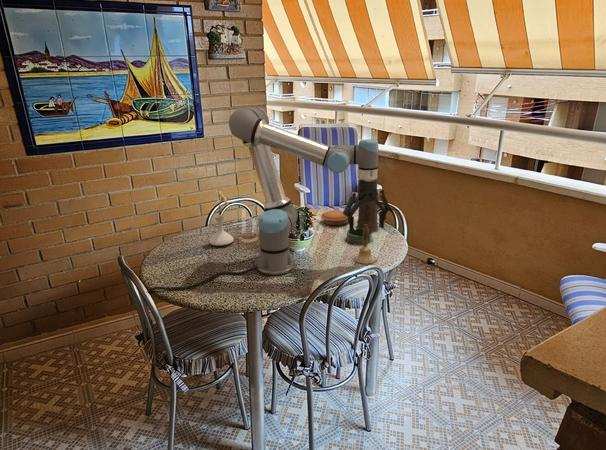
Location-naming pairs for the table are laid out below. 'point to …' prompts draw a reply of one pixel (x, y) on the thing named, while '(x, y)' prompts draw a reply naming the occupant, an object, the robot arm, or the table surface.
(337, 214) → the pie
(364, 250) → the hand bell
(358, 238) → the holder
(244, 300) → the table surface
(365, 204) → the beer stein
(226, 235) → the flower in vase
